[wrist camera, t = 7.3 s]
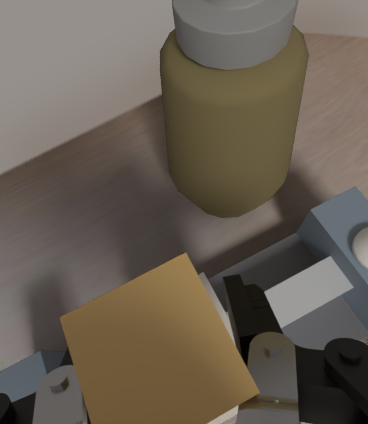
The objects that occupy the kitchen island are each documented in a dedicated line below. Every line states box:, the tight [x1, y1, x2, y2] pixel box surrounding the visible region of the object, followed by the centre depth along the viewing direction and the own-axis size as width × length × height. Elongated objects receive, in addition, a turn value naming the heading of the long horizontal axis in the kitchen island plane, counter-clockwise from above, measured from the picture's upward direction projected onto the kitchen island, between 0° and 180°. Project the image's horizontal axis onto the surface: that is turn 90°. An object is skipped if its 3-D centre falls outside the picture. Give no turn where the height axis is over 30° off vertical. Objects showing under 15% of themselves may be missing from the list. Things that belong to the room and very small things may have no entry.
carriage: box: [59, 252, 260, 424], centre depth 13 cm, size 5×6×12 cm
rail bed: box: [0, 186, 368, 402], centre depth 17 cm, size 22×7×5 cm, turn 116°
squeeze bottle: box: [160, 0, 309, 218], centre depth 16 cm, size 8×8×18 cm
